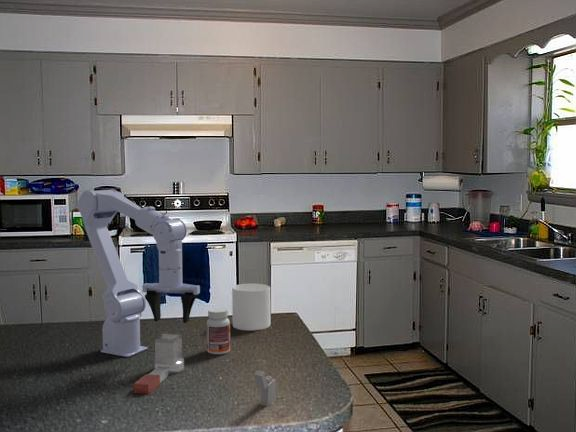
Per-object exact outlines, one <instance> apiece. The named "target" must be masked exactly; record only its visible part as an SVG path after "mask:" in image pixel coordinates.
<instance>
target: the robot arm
mask: <svg viewBox="0 0 576 432" xmlns="http://www.w3.org/2000/svg"><path fill="white" fill-rule="evenodd" d="M77 207H78V208H77V209H78V212H79V213H80V216H81V219H82V222H83V225H84V230H85V232H86V235H87V237H88V240H89V242H90V245H91V248H92V250H93V253H94V255H95V258H96V261H97V263H98V265H99V268H100V272H101V273H102V276H103V279H104V282H105V284H106V287H107V288H106V290H105V291H104V293H103V294H102V297H101V298H102V300H103V307H104V313H105V316H106V317H107V318H106V319H105V320H104V322H103V325H102V329H101V330H102V349H101V350H100V353H103V354H109V355H115V356H119V357H124V358H128V357H132V356H134V355H136V354H139V353H141V352H143V351H146V350H148V347H147V346H143V345H141V323H140V322H141V319H140V318H141V317H142V313H143V312H144V311H145V309H146V305H147V304H148V306H149V308H150V310H151V312H152V315H153V320H154V322H158V321H160V320H161V315H162V314H161V311H162V310H161V304H162V301H161V300H162V294H163V293H167V294H182V295H181V296H180V300H181V304H182V323H183V324H186V323H189V321H190V316H191V311H192V308H193V305H194V304H195V301H196V299H197V297H198V295H199V294H200V293H201V286H200V285H195V284H188V283H183V240H184V239H185V238H186V236H187V231H188V230H187V226H186V223H184V222H183V221H182V219H180V218H178V217H177V218H176V217H175V218H170V217H169V215H168V214H166V213H165V214H163V213H161V212H159V211H157V210H156V207H154V206H153V205H152V206H144V207H141V206H139V205H138V204H136V203H134V202H133V201H132V200H130V199H128V198H127V197H125V196H124V195H123V193H122V192H120V191H117V190H116V189H114V188H111V189H103V190H101V189H100V190H99V189H98V190H84V191H82V193H81V194H80V195H79V199H78V202H77ZM117 213H120V214H122V215H124V216H126V217H129V218H131V219H132V220H134V221H135V222H134V224H135V226H137V227H138V228H139V229H142V230H143V231H145V232H147V233H149V234H150V235H152V236H153V237H152V238H153V239H154V241H155V243H156V248H157V250H158V282H153V283H151V282H150V283H149V282H148V283H147V282H145V283H144V284H141V285H142V288H141V289H142V292H141V291H140V290H139V288H138V285H137V284H135V283H134V282H132V281H130V280H129V279H128V277H127V275H126V274H127V273H126V272H125V269H124V267H123V264H122V262H121V260H120V257H119V255H118V252H117V249H116V247H115V244H114V242H113V239H112V236H111V233H110V231H109V229H108V225H109V224H110V223H111V222H112V220H113V219H114V217H115V216H116V215H117ZM143 293H146V294H143ZM146 301H147V303H146Z"/></svg>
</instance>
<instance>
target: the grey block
mask: <svg viewBox="0 0 576 432" xmlns="http://www.w3.org/2000/svg"><path fill="white" fill-rule="evenodd" d="M182 335H183V334H179V333H178V334H177V333H161V334H160V335H158V336H157V337H156V338H155V339H154V355H155V356H154V357H155V359H154V365H155V364H168V365H175V364H176V363H177V362H178V361H180V360H181V359H182V358H183V344H182V343H183V341H182V340H183V338H182V337H183V336H182Z"/></svg>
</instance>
